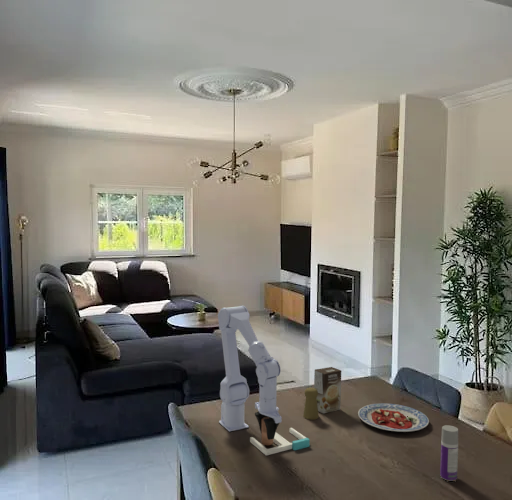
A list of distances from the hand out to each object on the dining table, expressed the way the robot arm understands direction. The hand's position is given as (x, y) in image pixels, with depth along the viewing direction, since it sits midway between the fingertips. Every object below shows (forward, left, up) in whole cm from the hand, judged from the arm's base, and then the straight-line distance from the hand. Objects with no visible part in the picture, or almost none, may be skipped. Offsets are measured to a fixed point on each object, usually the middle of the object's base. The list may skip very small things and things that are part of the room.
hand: (267, 436), depth 163 cm
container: (+43, +37, -3) cm, 57 cm away
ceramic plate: (+5, +52, -4) cm, 52 cm away
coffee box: (-16, +37, -3) cm, 40 cm away
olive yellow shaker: (-13, +27, -3) cm, 30 cm away
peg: (0, 0, -2) cm, 2 cm away
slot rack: (+1, +4, -3) cm, 6 cm away
